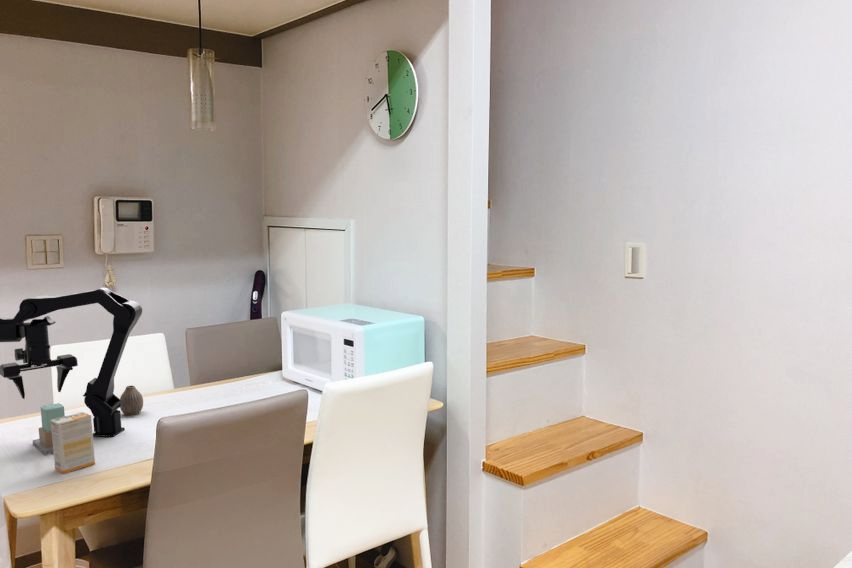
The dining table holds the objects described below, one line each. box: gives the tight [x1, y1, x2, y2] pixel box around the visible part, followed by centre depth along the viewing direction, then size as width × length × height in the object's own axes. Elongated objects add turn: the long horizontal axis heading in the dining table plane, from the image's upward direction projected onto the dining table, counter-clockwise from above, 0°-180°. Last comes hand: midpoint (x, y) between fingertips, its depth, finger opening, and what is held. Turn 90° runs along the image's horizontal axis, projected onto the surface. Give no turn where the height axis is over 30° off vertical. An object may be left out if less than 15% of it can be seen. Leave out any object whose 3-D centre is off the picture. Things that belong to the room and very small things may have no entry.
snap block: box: [40, 402, 66, 432], centre depth 190 cm, size 5×5×6 cm
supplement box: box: [50, 411, 96, 474], centre depth 175 cm, size 8×5×13 cm, turn 141°
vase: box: [119, 385, 144, 416], centre depth 219 cm, size 7×7×9 cm
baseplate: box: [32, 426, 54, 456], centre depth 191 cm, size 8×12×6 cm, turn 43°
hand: (41, 395), depth 198 cm, fingers open, 9 cm apart
